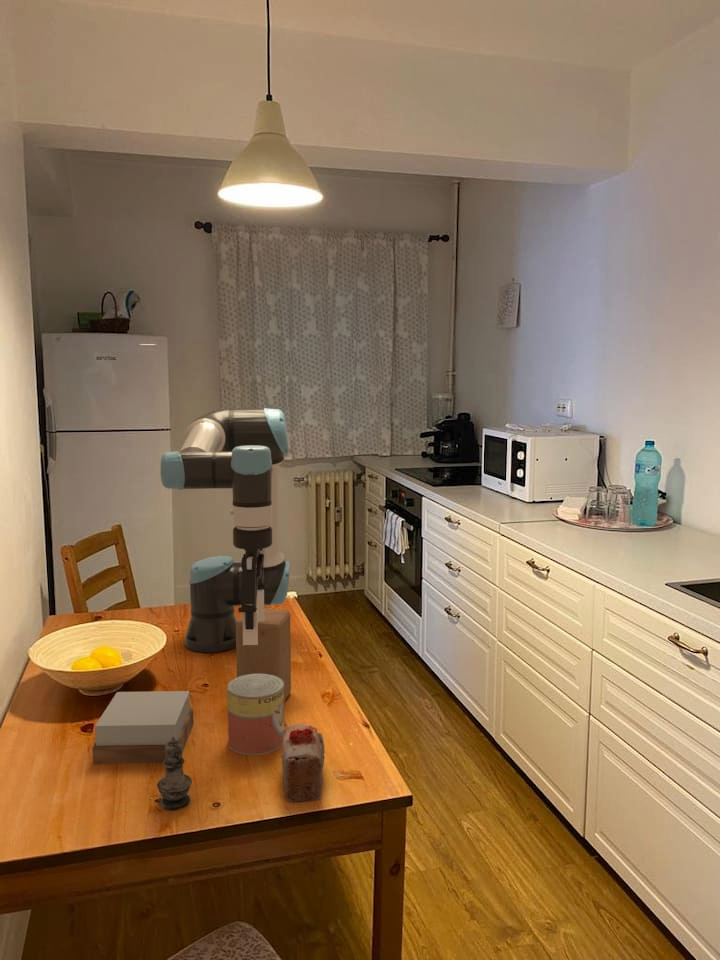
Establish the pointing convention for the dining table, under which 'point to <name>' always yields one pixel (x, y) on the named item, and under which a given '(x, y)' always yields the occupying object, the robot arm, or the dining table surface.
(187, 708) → the grey block
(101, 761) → the walnut block
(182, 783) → the dark chess piece
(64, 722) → the dining table surface
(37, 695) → the dining table surface
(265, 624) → the wooden block
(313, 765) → the food item
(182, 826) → the dining table surface
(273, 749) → the canned food
